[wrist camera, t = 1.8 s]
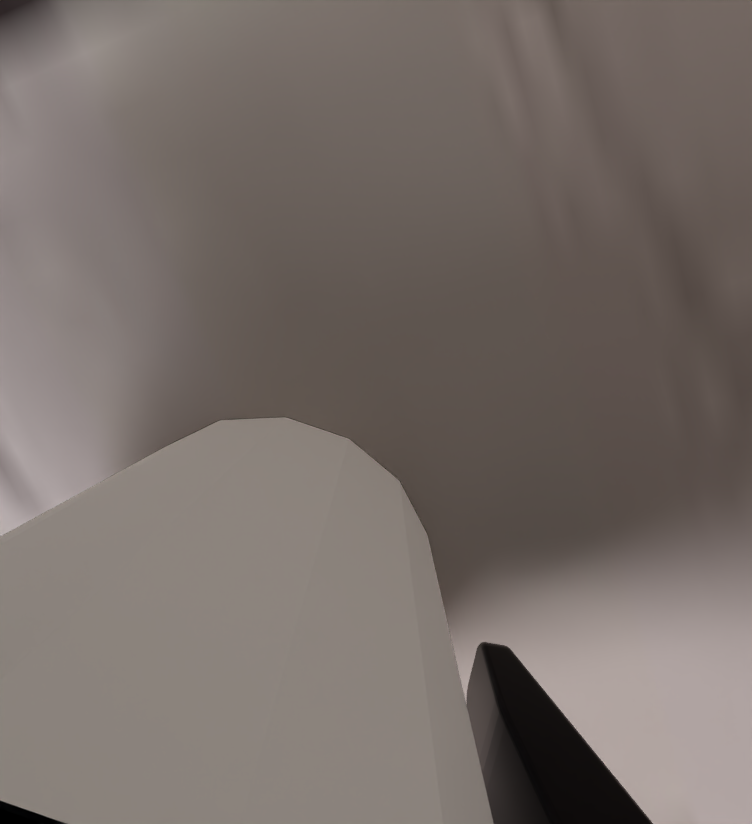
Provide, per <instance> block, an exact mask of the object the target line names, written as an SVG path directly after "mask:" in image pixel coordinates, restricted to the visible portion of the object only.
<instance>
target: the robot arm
mask: <svg viewBox="0 0 752 824" xmlns="http://www.w3.org/2000/svg"><path fill="white" fill-rule="evenodd" d="M467 710H468V714H469V718H470V723H471V727H472V732H473V736H474V740H475V745H476V749H477V753H478V758H479V762H480V766H481V771H482V775H483V779H484V784H485V788H486V792H487V797H488V801H489V806H490V810H491V814H492V819H493V823H494V824H653V823H652V822H651V821H650V819H649V818H648V817H647V816H646V814H645V813H644V812H643V811H642V810H641V808H640V807H639V806H638V805H637V803H636V802H635V801H634V800H633V799H632V797H631V796H630V795H629V794H628V792H627V791H626V790H625V789H624V788H623V786H622V785H621V784H620V783H619V781H618V780H617V779H616V778H615V777H614V775H613V774H612V773H611V772H610V770H609V769H608V768H607V767H606V766H605V764H604V763H603V762H602V761H601V759H600V758H599V757H598V756H597V755H596V753H595V752H594V751H593V750H592V748H591V747H590V746H589V745H588V743H587V742H586V741H585V740H584V739H583V737H582V736H581V735H580V734H579V732H578V731H577V730H576V729H575V728H574V726H573V725H572V724H571V723H570V721H569V720H568V719H567V718H566V717H565V715H564V714H563V713H562V712H561V710H560V709H559V708H558V707H557V706H556V704H555V703H554V702H553V701H552V699H551V698H550V697H549V696H548V695H547V693H546V692H545V691H544V690H543V688H542V687H541V686H540V685H539V684H538V682H537V681H536V680H535V679H534V677H533V676H532V675H531V674H530V673H529V671H528V670H527V669H526V668H525V666H524V665H523V664H522V663H521V662H520V660H519V659H518V658H517V657H516V655H515V654H514V653H513V652H512V651H511V649H510V648H508V647H507V646H504V645H499V644H493V643H487V642H483V643H481V644H480V645H479V646H478V648H477V651H476V655H475V659H474V663H473V667H472V671H471V675H470V680H469V684H468V689H467Z"/></svg>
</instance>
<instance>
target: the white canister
mask: <svg viewBox="0 0 752 824" xmlns="http://www.w3.org/2000/svg"><path fill="white" fill-rule="evenodd" d="M0 824H494V823H493V819H492V814H491V810H490V806H489V801H488V797H487V792H486V788H485V784H484V779H483V775H482V771H481V766H480V762H479V758H478V753H477V749H476V745H475V740H474V736H473V732H472V727H471V723H470V718H469V714H468V710H467V705H466V701H465V697H464V692H463V688H462V684H461V679H460V675H459V671H458V666H457V662H456V657H455V653H454V649H453V644H452V640H451V636H450V631H449V627H448V623H447V618H446V614H445V610H444V605H443V601H442V596H441V592H440V588H439V583H438V579H437V575H436V570H435V566H434V562H433V557H432V553H431V549H430V544H429V540H428V535H427V533H426V531H425V529H424V527H423V525H422V523H421V521H420V519H419V518H418V516H417V514H416V512H415V510H414V508H413V506H412V504H411V502H410V500H409V498H408V496H407V494H406V492H405V491H404V489H403V487H402V485H401V483H400V481H399V480H398V479H397V478H395V477H394V476H393V475H392V474H391V473H389V472H388V471H387V470H386V469H385V468H384V467H382V466H381V465H380V464H379V463H378V462H376V461H375V460H374V459H373V458H372V457H370V456H369V455H368V454H367V453H366V452H364V451H363V450H362V449H361V448H360V447H358V446H357V445H356V444H355V443H354V442H352V441H351V440H350V439H348V438H345V437H342V436H339V435H336V434H333V433H331V432H328V431H325V430H322V429H319V428H316V427H313V426H310V425H307V424H304V423H301V422H298V421H295V420H292V419H289V418H286V417H278V418H257V419H235V420H219V421H217V422H215V423H213V424H211V425H209V426H207V427H205V428H203V429H201V430H199V431H197V432H195V433H193V434H191V435H189V436H186V437H184V438H182V439H180V440H178V441H176V442H174V443H172V444H170V445H168V446H166V447H164V448H162V449H160V450H158V451H157V452H155V453H153V454H151V455H149V456H147V457H146V458H144V459H142V460H140V461H138V462H136V463H135V464H133V465H131V466H129V467H127V468H125V469H124V470H122V471H120V472H118V473H116V474H114V475H113V476H111V477H109V478H107V479H105V480H103V481H102V482H100V483H98V484H96V485H94V486H92V487H91V488H89V489H87V490H85V491H83V492H81V493H80V494H78V495H76V496H74V497H72V498H70V499H69V500H67V501H65V502H63V503H61V504H59V505H57V506H56V507H54V508H52V509H50V510H48V511H46V512H45V513H43V514H41V515H39V516H37V517H35V518H34V519H32V520H30V521H28V522H26V523H24V524H23V525H21V526H19V527H17V528H15V529H13V530H12V531H10V532H8V533H6V534H4V535H2V536H1V537H0Z"/></svg>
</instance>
